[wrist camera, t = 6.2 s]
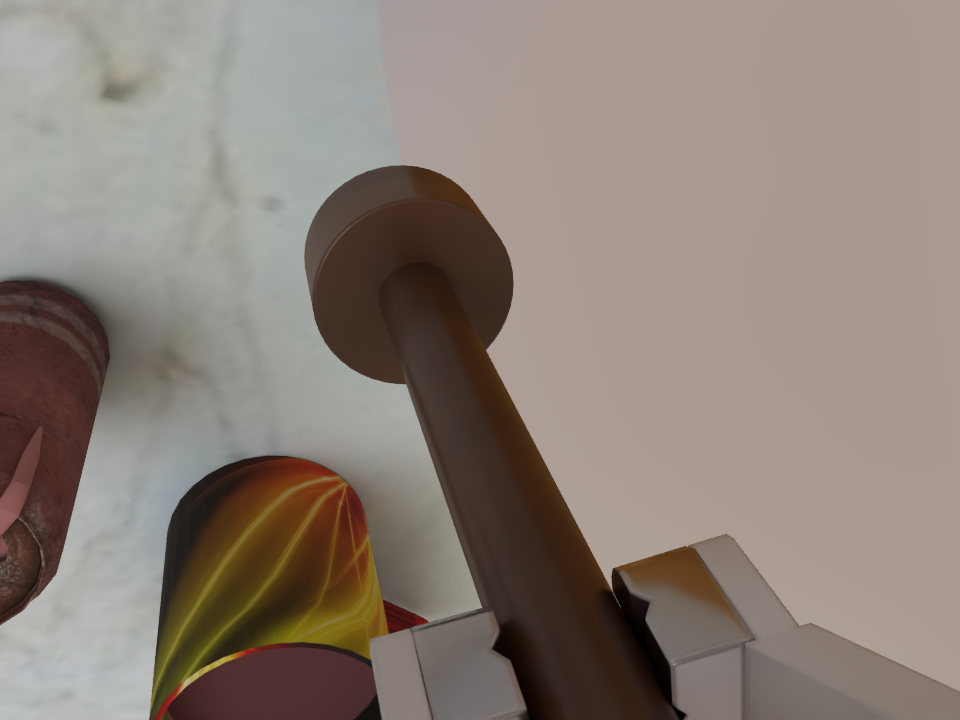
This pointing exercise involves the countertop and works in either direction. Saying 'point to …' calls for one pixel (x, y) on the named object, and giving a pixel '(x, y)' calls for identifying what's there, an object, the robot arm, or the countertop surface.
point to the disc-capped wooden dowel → (475, 430)
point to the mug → (270, 599)
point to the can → (42, 428)
